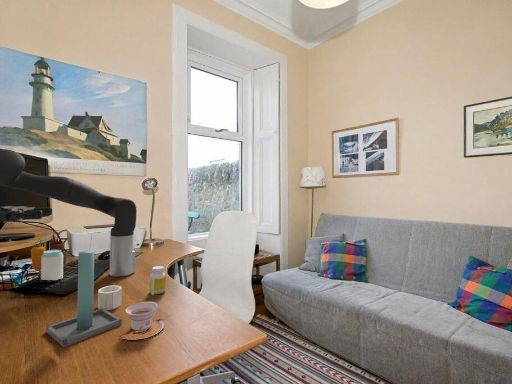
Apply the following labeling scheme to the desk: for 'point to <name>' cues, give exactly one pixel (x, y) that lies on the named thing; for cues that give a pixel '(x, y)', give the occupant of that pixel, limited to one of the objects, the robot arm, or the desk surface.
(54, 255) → the can
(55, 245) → the wooden figurine
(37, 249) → the carrot
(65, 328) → the tray
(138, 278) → the desk surface
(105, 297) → the cup
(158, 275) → the supplement bottle
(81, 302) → the dowel
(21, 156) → the robot arm
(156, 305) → the teacup
